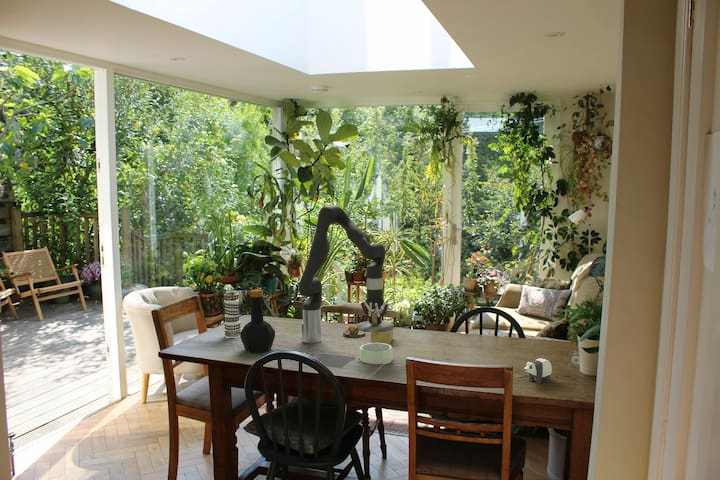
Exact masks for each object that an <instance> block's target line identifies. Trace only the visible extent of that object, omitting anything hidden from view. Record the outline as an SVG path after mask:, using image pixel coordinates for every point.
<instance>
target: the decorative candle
mask: <svg viewBox="0 0 720 480" xmlns="http://www.w3.org/2000/svg"><path fill="white" fill-rule="evenodd" d="M239 294H240V293H239V292H238V291H237V290H235V289H231V290H226V291H225V292H224V293H223V298H224V299H223V301H222V306H223V313H224V314H223V315H224V329H225V330H224V337H226V338H225V339H228V338H235V339H237V338H236V337H239V338H240V333H241V331H242V329H241V323H240V322H241V320H240V316H241V310H240V309H241V304H240V303H239V302H240V299H239Z"/></svg>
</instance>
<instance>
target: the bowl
mask: <svg viewBox="0 0 720 480" xmlns="http://www.w3.org/2000/svg"><path fill="white" fill-rule="evenodd" d="M359 359H360V362H363V363H364V364H370V365H381V364H382V365H387V364H390V363H391V362H393V347H392V345H391V344H385V343H371V342H368V343H364V344H361V345H360V347H359Z"/></svg>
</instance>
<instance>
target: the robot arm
mask: <svg viewBox="0 0 720 480" xmlns="http://www.w3.org/2000/svg"><path fill="white" fill-rule="evenodd" d="M316 222H317V223H316V227H315V233H314V236H313V240H312V243H311V247H310V249H309V250H310V251H309V254H308V258H307V261H306V265H305V266H304V267H305V268H304V270H303V273H302V274H301V278H300V280H299V282H298V294H299V295H300V296H302V297H305V298H308V299H307V300H306V301H304V302H303V303H302V323H301V342H303V343H306V344H312V343H313V344H317V343H321V342H322V317H321V316H322V315H321V314H322V311H321V310H322V309H321V306H322V299H323V285H322V281H321V280H320V278H319V277H316V275H317V273H318V272H319V271H320V270H321V268H322V267H323V266H324V265H325V263H326V262H327V260H328V257H329V254H330V248H331V246H330V242H329V240H328V231H329V228H330V226H332V225H339V226H341V227H342V228H343V229H344V230H345V234H346V236H347V238H348V240H349V241H350V242H351V243H352V244H353V245H354V246H356V247H357V248H358V250H359V251H360V253H361V255H362V257H364V258H365V259H367V260H369V261H371V263H370V264H369V265H367V267H366V300H365V301H362V302H360V306H361V308H362V310H363V313H364V315H367V316H368V321H369V323H370V324H372V312H374V310H375V312H377V315H378V317H377V325H380V324H381V322H382V321H383V319H382V317H384V316H385V315H386V314H387V311H388V310H389V307H390V303H387V302H385V300H384V280H383V267H384V263H385V260H386V259H385V258H386V249H385V246H384V245H383V243H382V244H381V243H380V242H379V243H372V244H371V238H370V237H369V236H368V235H367V234H366V233H364V231H363V230H361V229H360V228H359V227H358V226H357V225H356V224H355V223H354V222H353V220H352V219H351V218H350V216H349V215H348V214H347V213H346V212H345V210H344V209H343V208H341V206H339V205H337V204H333V205H332V204H331V205H326V206H325V205H324V206H322V207H321V208H320V210H319V212H318V217H317V221H316ZM382 307H383V310H382Z"/></svg>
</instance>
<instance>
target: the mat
mask: <svg viewBox="0 0 720 480" xmlns="http://www.w3.org/2000/svg"><path fill="white" fill-rule="evenodd" d="M355 358H356V357H355V356H351V355H349V356H347V355H340V354H330V353H323V354H322V355H320V356H318V357H317V358H316V359H318V360H319V361H321V362H322V363H323V364H324V365H326V366H325V367H329V368H330V367H332V368H339V369H342V368H344V367H345V366H346V365H348V364H349V363H350V362H351V361H353V360H354V359H355Z"/></svg>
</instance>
